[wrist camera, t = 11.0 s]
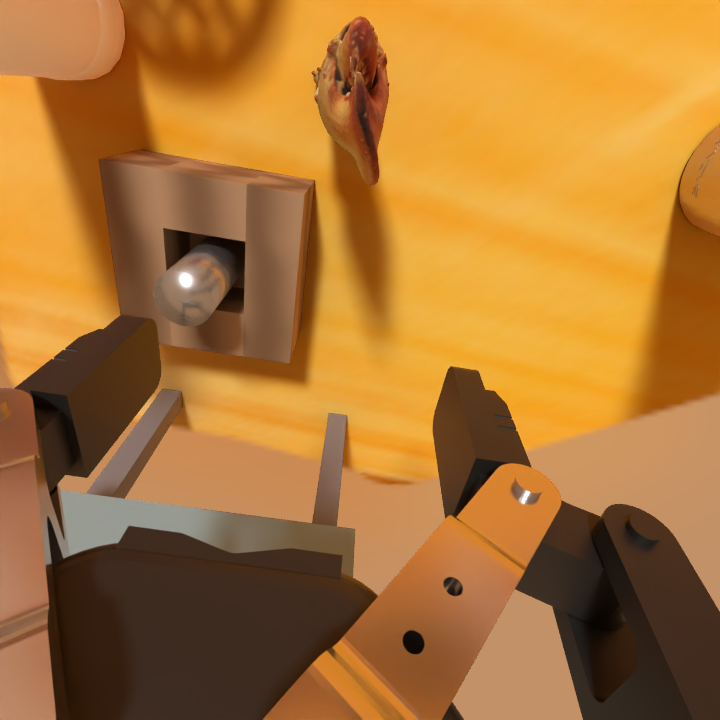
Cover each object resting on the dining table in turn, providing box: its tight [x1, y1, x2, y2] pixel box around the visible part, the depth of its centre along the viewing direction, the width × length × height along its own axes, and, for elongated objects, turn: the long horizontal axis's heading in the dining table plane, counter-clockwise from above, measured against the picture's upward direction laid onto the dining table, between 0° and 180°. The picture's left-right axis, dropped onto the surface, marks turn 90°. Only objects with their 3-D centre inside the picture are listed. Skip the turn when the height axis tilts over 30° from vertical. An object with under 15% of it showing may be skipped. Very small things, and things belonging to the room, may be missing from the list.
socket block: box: [99, 150, 315, 364], centre depth 36 cm, size 14×14×6 cm
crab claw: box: [312, 16, 389, 185], centre depth 24 cm, size 7×5×20 cm
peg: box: [153, 236, 245, 327], centre depth 33 cm, size 4×4×10 cm
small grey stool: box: [60, 389, 355, 577], centre depth 35 cm, size 21×11×26 cm, turn 81°
